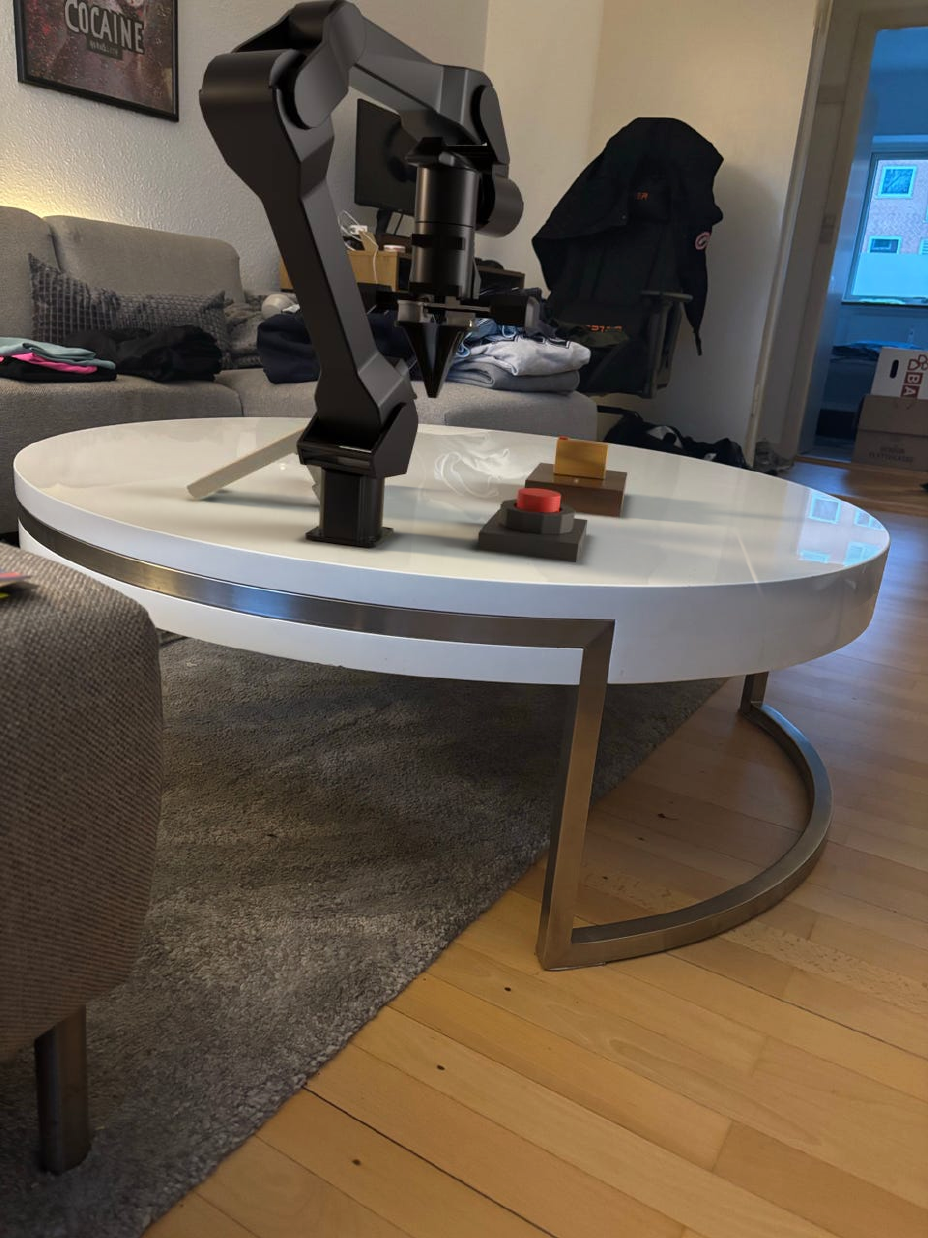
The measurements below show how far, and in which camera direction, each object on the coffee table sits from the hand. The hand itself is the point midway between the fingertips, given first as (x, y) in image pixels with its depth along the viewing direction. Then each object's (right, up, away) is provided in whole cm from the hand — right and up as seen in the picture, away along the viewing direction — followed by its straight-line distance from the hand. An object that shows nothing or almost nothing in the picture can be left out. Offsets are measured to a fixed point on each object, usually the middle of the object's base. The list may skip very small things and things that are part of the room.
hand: (432, 397), depth 90 cm
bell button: (+10, -12, -4) cm, 16 cm away
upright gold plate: (+17, -5, +18) cm, 25 cm away
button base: (+10, -15, -3) cm, 18 cm away
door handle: (-16, -8, +10) cm, 21 cm away
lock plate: (+16, -8, +19) cm, 26 cm away
